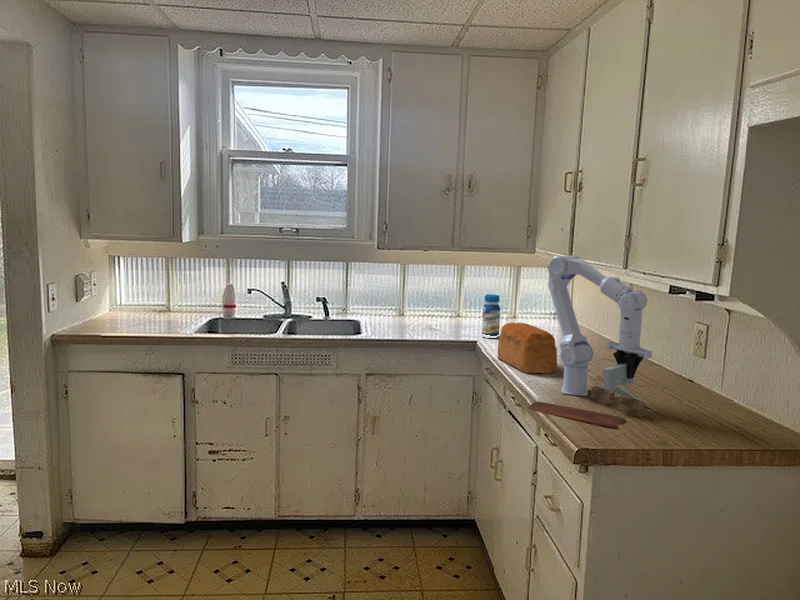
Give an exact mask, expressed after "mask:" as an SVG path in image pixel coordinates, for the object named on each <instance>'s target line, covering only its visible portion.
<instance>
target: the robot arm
mask: <svg viewBox="0 0 800 600" xmlns="http://www.w3.org/2000/svg"><path fill="white" fill-rule="evenodd" d="M546 268H547V272H548V290H549V293H550V296H551V299H552V303H553V307H554V310H555V314H556V316H557V321H558V323H559V327H560V330H561V334H562V339H561V341H560V343H559V347H560V359H561V361H562V362H563V366H564V367H563V382H562V383H563V384H561V394H563V395H573V396H583V397H588V395H589V393H588V374H589V372H588V371H589V365H590V361H591V360H592V359H593V357H594V349H593V347H592V345H590V343H589V341H588V339H587V337H586V336H585V335H583V334H582V333H581V330H580V327H579V323H578V320H577V316H576V314H575V313H576V312H575V309H574V307H573V303H572V300H571V296H570V293H569V290H568V285H569V284H570V282H571V281H572V279H574V278H575V277H576V276H577V275H580V276H582V277H583V278H585V280H588V281H590V282H591V283H592V284H595V285H596V286H598V287H599V288H600V290H599V291H600V292H601V294H603V295H604V296H606V297H608V298H609V299H610V300H612V301H614V302H615V303H617V305H618V307H619V309H620V322H619V323H620V324H619V325H620V326H619V337H618V342H615V341H609V342H607V343H606V344H607V349H608V350H614V351H615V352H613V354H612V355H613V357H614V359H615V361H616V363H617V365H619V364H623V363H626V364H627V379H632V378H633V379H634V377H635V375H636V373H637V369H638V367H639V366H640V364H641V363H642V361H643V359H646V360H647V359H648V360H649V359H652V355H653V351H650V350H647V349H645V348H642V347H641V345H640V344H641V335H642V334H641V331H642V322H643V321H642V320H643V310H644V308H646V306H647V303H648V299H647V298H648V297H647V296H646V295H645V293H644V292H642V291H641V290H633V287H632V286H628V285H626V284H624V282H622V281H620V280H621V279H620V277H618V276H617V277H614V276H609V277H607V276H605V275H604V274H602V273H601V272H600V271H598V270H597V269H595V267H593V266H591V265H590V264H589V263H588V262H586V261H585V259H584V258H580V256H578V255H576V254H571V255H554V256H553V257H552V258H550V261H549V262H548V265H547V266H546Z"/></svg>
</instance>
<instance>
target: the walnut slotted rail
mask: <svg viewBox="0 0 800 600" xmlns="http://www.w3.org/2000/svg"><path fill="white" fill-rule="evenodd" d="M615 396H616V392H615V391H612V390H607V389H604V387H600V386H597V385H595V386H591V392H590V400H592V401H594V402H597V403H600V404H603V405H605V406H607V407H611V408H612V409H615V410H619V411H621V412H624V413H626V414H629V415H632V416H635V417H637V418H641V417H642V418H643V417H644V416H645V406H646V405H645V404H646V403H645V401H641V400H638V399H635V398H633V397H630V396H626V395H619V396H618V399H616V397H615Z"/></svg>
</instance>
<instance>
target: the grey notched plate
mask: <svg viewBox="0 0 800 600" xmlns="http://www.w3.org/2000/svg"><path fill="white" fill-rule="evenodd" d="M618 381H619V384H620V385H622V386H629V385H631V384H634V378H632V379H627V364H626V363H623V364H619V365H618V364H617V365H612V366H609V367H605V368H603V388H604V389H606V390H609V391H612V390H614V389H617V388H618Z"/></svg>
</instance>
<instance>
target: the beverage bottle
mask: <svg viewBox="0 0 800 600" xmlns="http://www.w3.org/2000/svg"><path fill="white" fill-rule="evenodd" d="M484 303H485V304H484V305H483V308H482V311H483V312H482V315H481V316H482V318H481V319H482V320H481V335H482V334H485V335H490V336H497V335H499V336H500V327H501V325H500V323H501V307H500V304H499V303H500V295H499V294H490V293H488V294H484Z"/></svg>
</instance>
